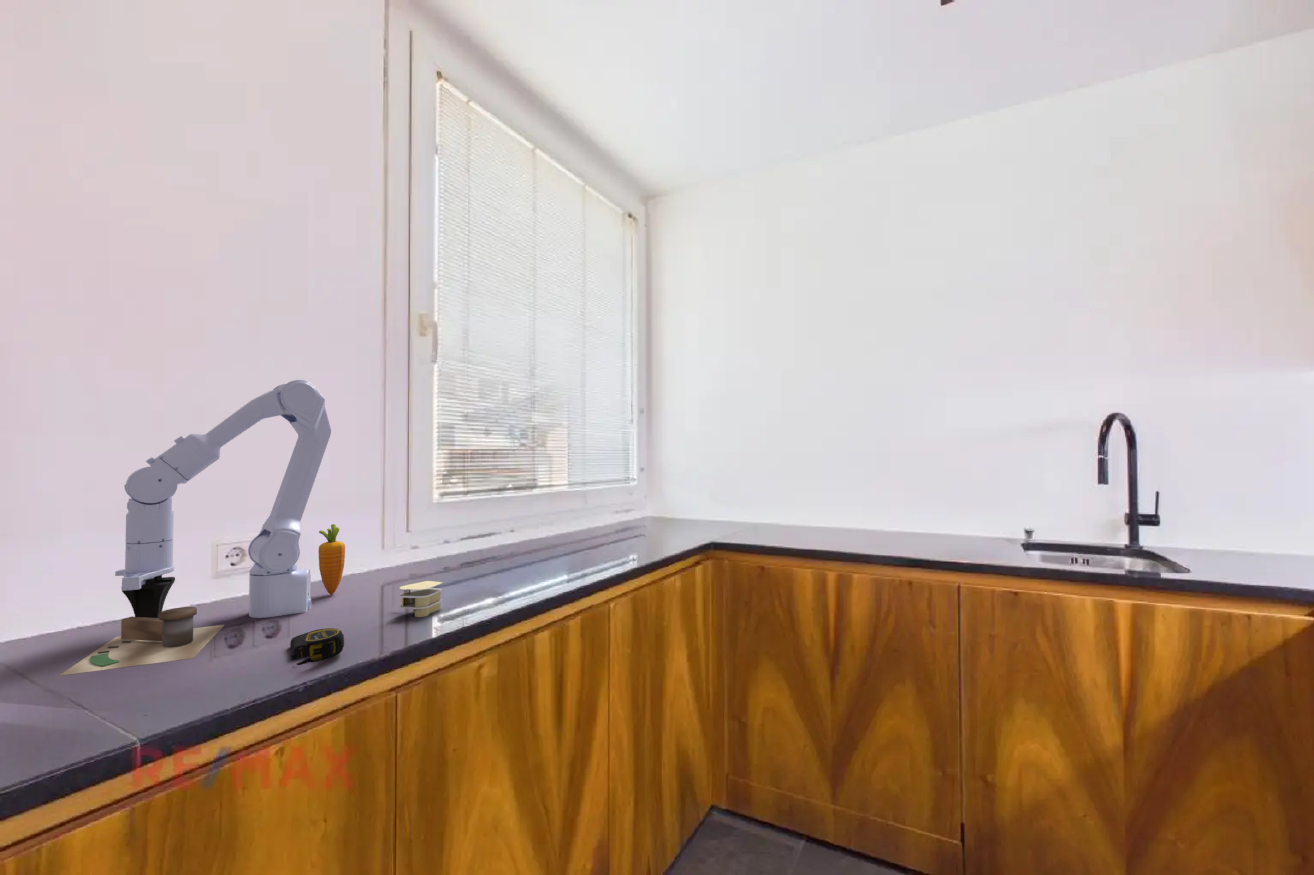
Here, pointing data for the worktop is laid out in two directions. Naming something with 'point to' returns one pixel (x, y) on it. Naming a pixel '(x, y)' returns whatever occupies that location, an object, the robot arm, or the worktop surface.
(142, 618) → the dial pointer
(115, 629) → the worktop surface
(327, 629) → the tape measure
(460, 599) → the worktop surface
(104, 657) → the dial board
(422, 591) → the stacked layers on plate
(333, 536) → the carrot
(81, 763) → the worktop surface
